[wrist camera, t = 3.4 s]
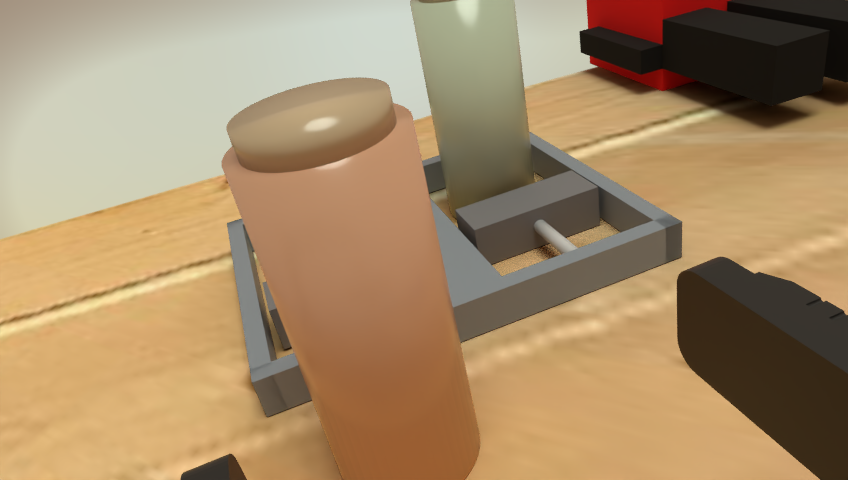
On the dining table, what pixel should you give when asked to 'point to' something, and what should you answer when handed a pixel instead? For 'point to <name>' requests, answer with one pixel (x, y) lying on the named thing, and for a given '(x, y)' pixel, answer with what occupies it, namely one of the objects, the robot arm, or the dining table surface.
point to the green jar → (475, 96)
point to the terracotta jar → (357, 275)
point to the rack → (494, 257)
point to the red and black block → (722, 44)
